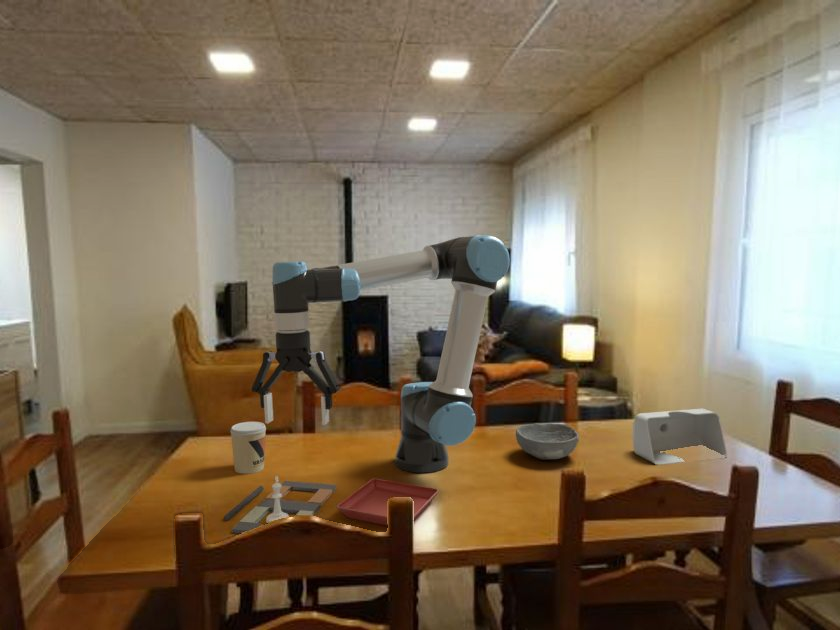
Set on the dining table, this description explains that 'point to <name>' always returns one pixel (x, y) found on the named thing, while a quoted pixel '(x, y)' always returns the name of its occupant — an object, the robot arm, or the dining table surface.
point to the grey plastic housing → (676, 433)
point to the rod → (243, 503)
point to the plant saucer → (383, 499)
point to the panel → (287, 503)
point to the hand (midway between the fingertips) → (297, 422)
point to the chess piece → (276, 503)
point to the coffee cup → (248, 446)
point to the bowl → (547, 440)
